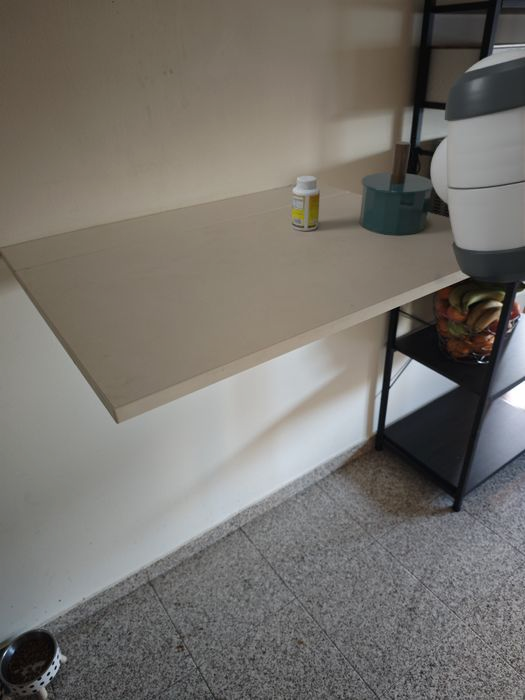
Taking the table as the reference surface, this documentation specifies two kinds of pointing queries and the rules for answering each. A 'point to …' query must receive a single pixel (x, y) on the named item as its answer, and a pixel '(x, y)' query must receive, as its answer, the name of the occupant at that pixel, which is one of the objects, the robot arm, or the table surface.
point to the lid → (398, 176)
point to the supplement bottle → (305, 204)
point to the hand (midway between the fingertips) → (479, 92)
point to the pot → (394, 212)
